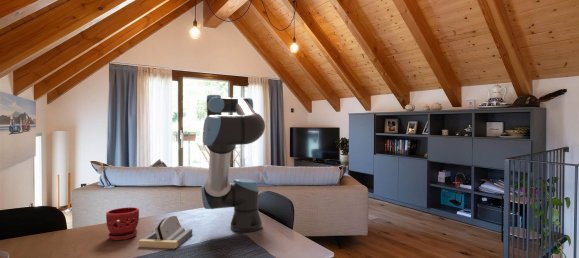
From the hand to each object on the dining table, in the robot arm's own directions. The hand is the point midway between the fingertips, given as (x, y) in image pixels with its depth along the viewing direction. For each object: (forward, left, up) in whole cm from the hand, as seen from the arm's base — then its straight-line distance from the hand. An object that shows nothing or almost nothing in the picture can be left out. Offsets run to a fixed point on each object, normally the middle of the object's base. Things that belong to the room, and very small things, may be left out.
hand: (214, 168), depth 169 cm
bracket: (+10, +32, -26) cm, 43 cm away
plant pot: (+32, +30, -27) cm, 51 cm away
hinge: (+11, +29, -27) cm, 41 cm away
